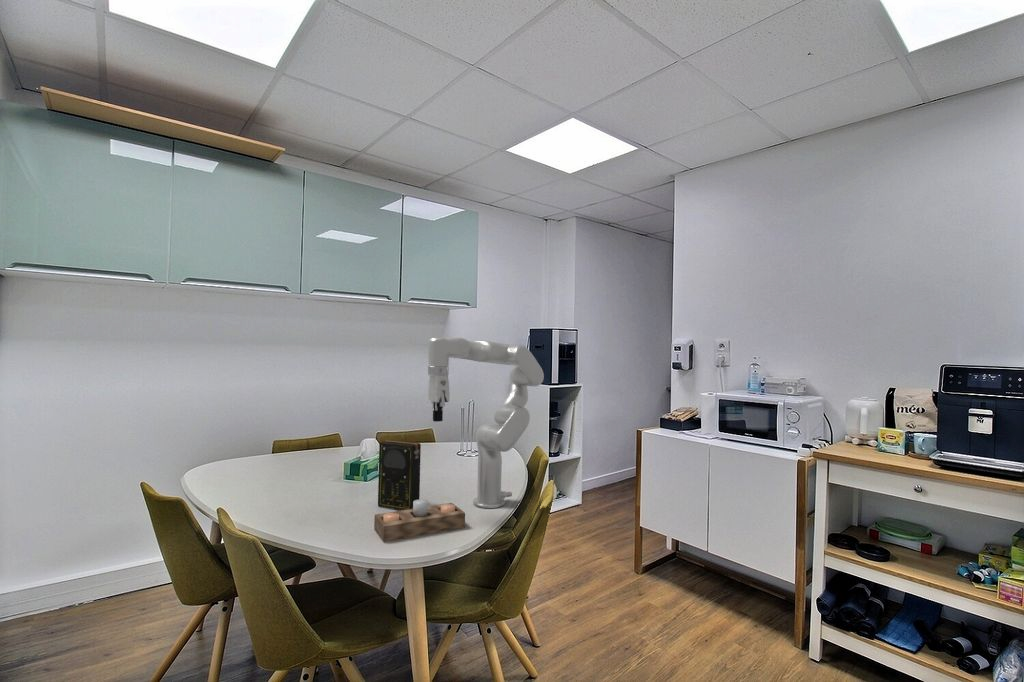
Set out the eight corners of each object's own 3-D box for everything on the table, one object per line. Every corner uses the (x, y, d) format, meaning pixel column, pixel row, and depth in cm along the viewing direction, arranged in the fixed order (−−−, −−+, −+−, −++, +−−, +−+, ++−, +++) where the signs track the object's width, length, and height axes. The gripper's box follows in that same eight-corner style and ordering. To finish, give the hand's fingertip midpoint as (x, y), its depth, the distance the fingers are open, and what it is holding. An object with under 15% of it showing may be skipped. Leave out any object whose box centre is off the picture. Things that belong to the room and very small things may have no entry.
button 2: (451, 517, 170) (451, 503, 170) (456, 521, 166) (457, 507, 166) (438, 519, 168) (438, 505, 168) (443, 524, 163) (443, 509, 163)
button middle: (424, 512, 165) (425, 498, 165) (429, 517, 161) (430, 502, 161) (410, 515, 163) (411, 500, 163) (415, 519, 158) (415, 504, 158)
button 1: (396, 526, 160) (396, 511, 160) (400, 531, 156) (401, 516, 156) (381, 529, 158) (381, 514, 158) (385, 534, 153) (385, 518, 153)
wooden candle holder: (451, 516, 174) (451, 502, 174) (464, 527, 163) (465, 512, 164) (374, 529, 160) (374, 514, 160) (383, 542, 150) (383, 526, 150)
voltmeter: (375, 507, 182) (376, 442, 183) (388, 500, 190) (389, 438, 191) (410, 513, 177) (411, 445, 177) (422, 506, 185) (423, 441, 185)
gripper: (455, 372, 170) (455, 423, 170) (440, 370, 183) (439, 417, 183) (436, 372, 166) (435, 424, 166) (421, 370, 179) (421, 419, 179)
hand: (437, 421), depth 175 cm, fingers closed
